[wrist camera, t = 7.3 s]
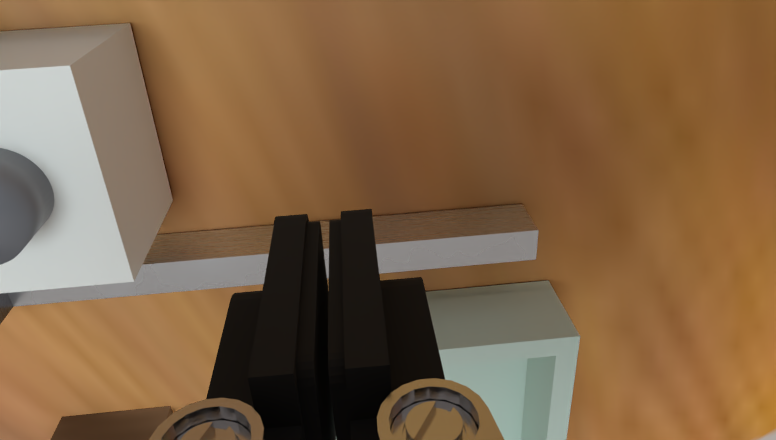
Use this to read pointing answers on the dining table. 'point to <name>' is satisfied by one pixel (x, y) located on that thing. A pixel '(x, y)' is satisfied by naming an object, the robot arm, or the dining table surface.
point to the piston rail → (393, 245)
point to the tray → (510, 353)
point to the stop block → (112, 425)
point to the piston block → (76, 159)
